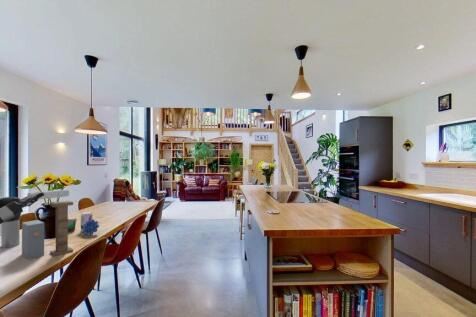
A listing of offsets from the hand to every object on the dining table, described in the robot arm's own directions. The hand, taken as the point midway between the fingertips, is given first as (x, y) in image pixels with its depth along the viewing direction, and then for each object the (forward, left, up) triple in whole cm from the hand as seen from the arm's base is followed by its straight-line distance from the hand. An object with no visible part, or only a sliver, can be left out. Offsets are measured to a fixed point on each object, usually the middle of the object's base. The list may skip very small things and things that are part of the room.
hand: (41, 193), depth 148 cm
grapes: (-25, +38, -39) cm, 60 cm away
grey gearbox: (-10, -2, -39) cm, 40 cm away
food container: (-50, +30, -39) cm, 71 cm away
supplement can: (-38, +40, -39) cm, 68 cm away
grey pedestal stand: (0, +10, -39) cm, 40 cm away
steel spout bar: (0, +4, -3) cm, 5 cm away
